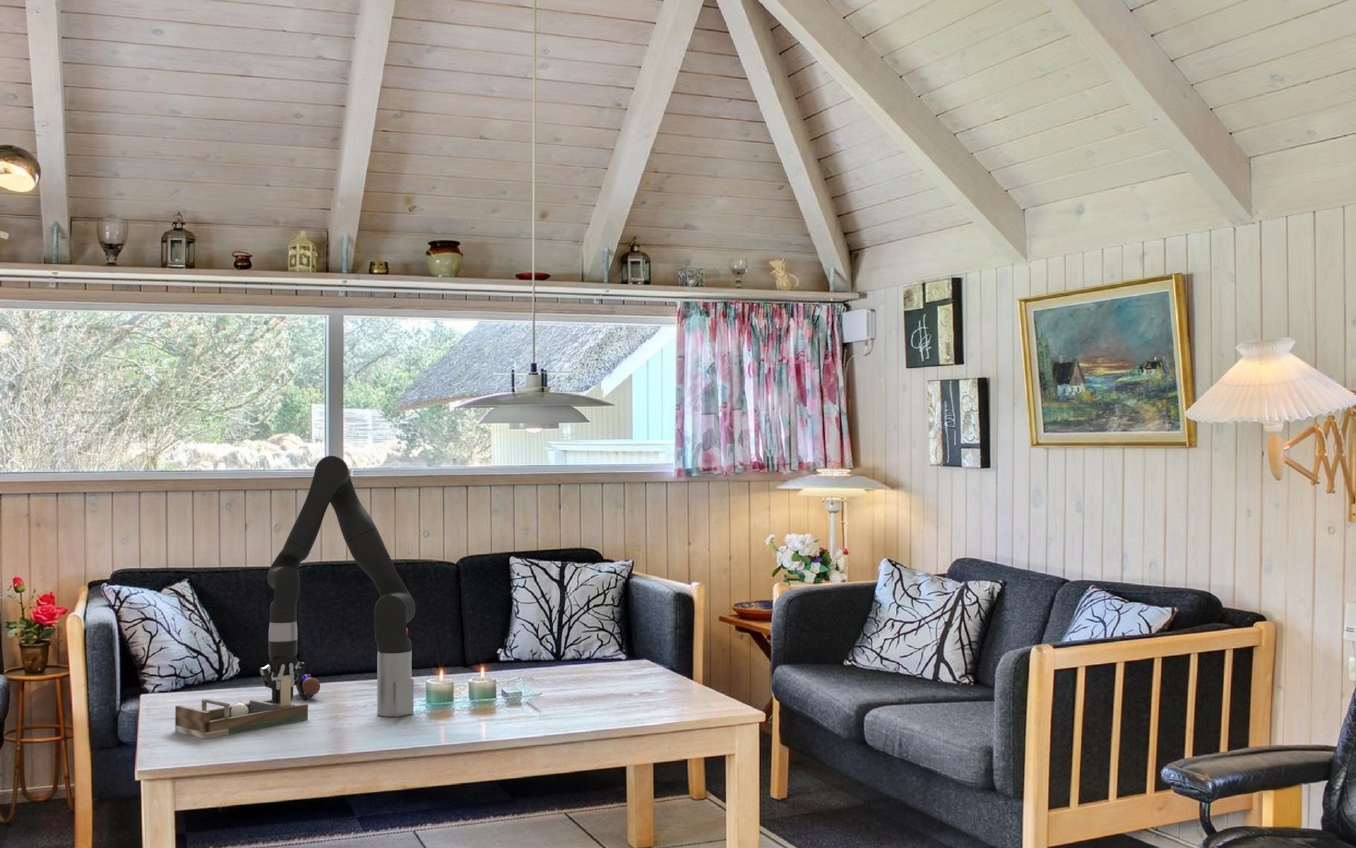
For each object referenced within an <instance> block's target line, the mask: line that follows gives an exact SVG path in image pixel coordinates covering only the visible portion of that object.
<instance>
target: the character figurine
mask: <svg viewBox="0 0 1356 848" xmlns="http://www.w3.org/2000/svg"><path fill="white" fill-rule="evenodd" d="M295 688H296V690H297V693H298V695H299V696H300V697H301V699H303V701H307V697H306V696H310V697H314V696H315V695H316V694H318V693H319V692H320V690H321V684H320V681H319V680H318V678H315V677H312V675H311V674H310V673H307V670H306V669H305V670H304V673H303V676H302V678H301V681H300V683H299V684H296V685H295ZM305 695H306V696H305Z"/></svg>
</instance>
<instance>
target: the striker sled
mask: <svg viewBox="0 0 1356 848" xmlns="http://www.w3.org/2000/svg"><path fill="white" fill-rule="evenodd" d="M276 677H278V676H276ZM279 690H280V703H278V704H277V703H275V704H273V703H268V702H263V701H264V700H257V699H249V703H250V705H249V712H251V713H257V712H263V711H268V710H274V709H279V708H285V707H291V706H296V704H292V703H291V702H292V701H291V679H290V675H284V676H283V678H282V681H281V682H280V689H279Z"/></svg>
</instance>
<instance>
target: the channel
mask: <svg viewBox="0 0 1356 848" xmlns="http://www.w3.org/2000/svg"><path fill="white" fill-rule="evenodd" d="M262 701H263V702H268V703H273V704H275V703H274V702H273V701H272V698H271V699H265V700H262ZM208 704H210V705H215V706H216V705H217V706H220V707H218V708H212V709H208ZM244 704H245V705H246V706H247V707H248V714H246V715H240V716H235V717H232V716H231V709H232V707H233V706H234V705H231V704H230V703H226V702H221V701H218V700H213V699H207V698H202V699H201V709H199V708H193V707H190V706H184V705H179V704H178V705H175V707H174V708H175V712H174V713H175V714H174V715H175V717H174V718H175V723H174V724H175V725H174V726H175V727H174V728H175V729H174V732H177V733H180V734H181V733H182V734H185V735H188V736H191V737H197V738H199V739H200V738H201V739H207V740H208V739H211V738H216V737H221V736H228V735H232V734H238V733H243V732H248V731H253V730H259V729H265V728H269V727H275V726H280V725H284V724H289V723H290V724H291V723H295V722H300V721H306V720H309V719H308V718H309V713H308V712H309V709H308V708H309V705H308V704H307V703H302V704H298V705H296V704H295V706H291V707H285V708H279V709H274V710H268V711H263V712H257V713H251V712H249V705H250V702H249V703H247V702H246V703H244Z"/></svg>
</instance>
